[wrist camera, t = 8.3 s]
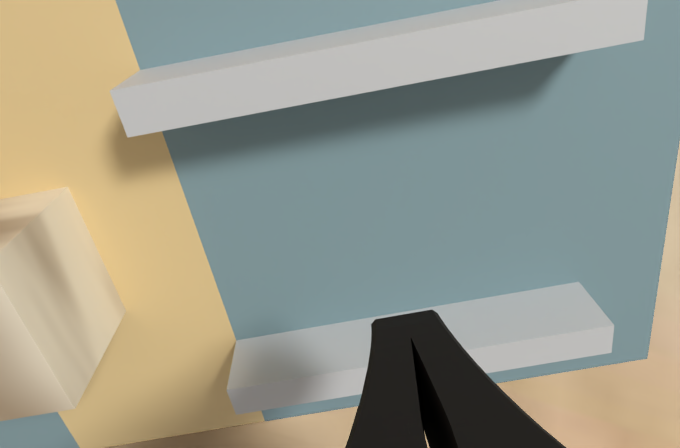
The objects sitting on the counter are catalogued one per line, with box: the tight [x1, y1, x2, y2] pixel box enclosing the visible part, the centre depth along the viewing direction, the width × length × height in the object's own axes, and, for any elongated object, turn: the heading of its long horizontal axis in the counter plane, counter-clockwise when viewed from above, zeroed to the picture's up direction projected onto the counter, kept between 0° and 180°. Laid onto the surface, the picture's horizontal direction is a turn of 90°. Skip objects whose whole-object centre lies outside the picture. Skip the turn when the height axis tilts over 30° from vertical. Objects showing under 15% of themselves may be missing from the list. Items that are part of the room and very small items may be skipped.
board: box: [0, 0, 680, 448], centre depth 17 cm, size 35×18×4 cm, turn 100°
